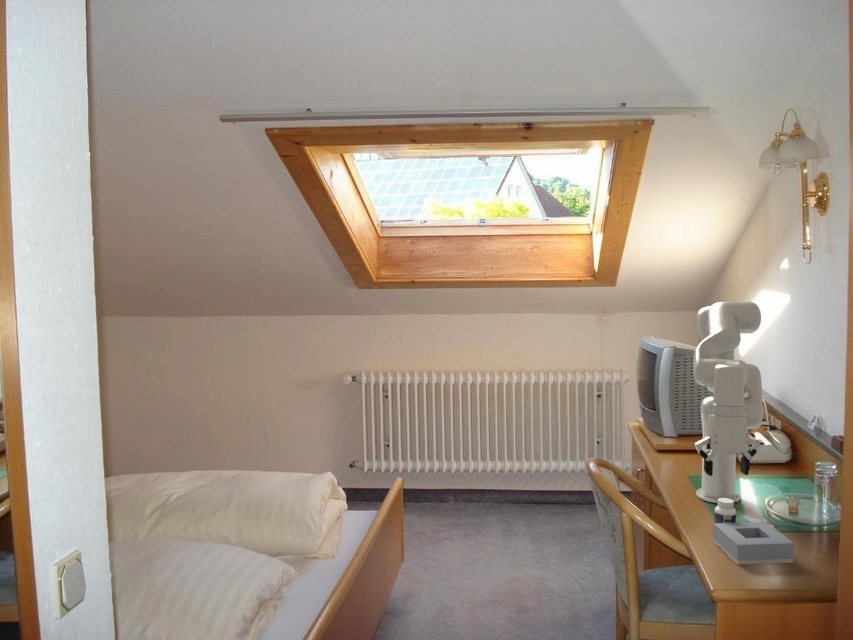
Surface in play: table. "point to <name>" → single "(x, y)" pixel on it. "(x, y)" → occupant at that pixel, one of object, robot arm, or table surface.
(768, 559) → the socket block
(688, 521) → the table surface
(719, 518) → the pill bottle
